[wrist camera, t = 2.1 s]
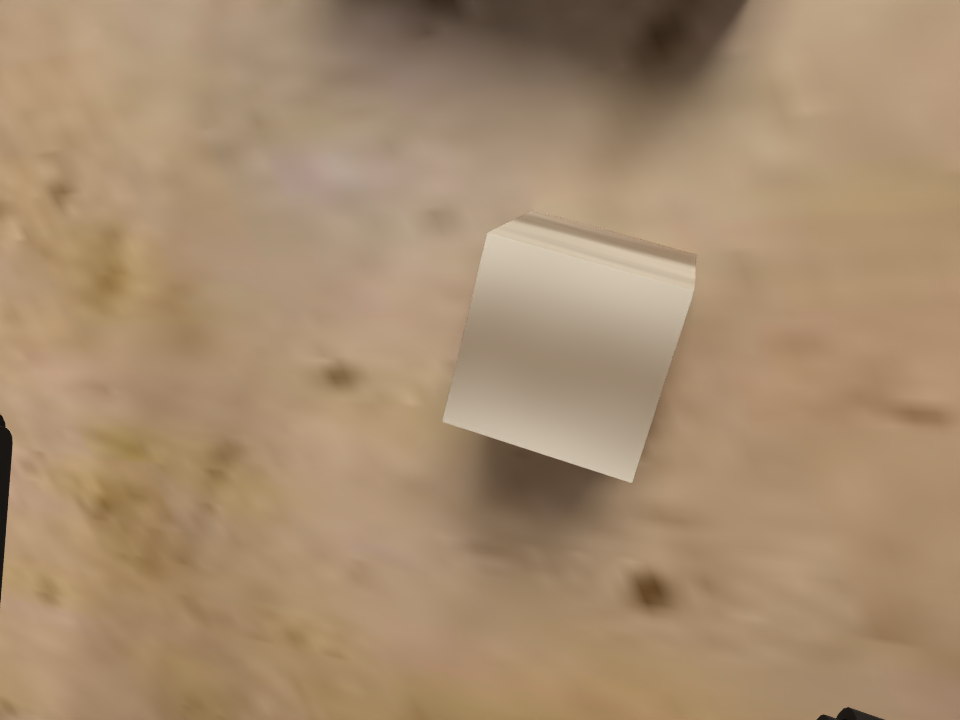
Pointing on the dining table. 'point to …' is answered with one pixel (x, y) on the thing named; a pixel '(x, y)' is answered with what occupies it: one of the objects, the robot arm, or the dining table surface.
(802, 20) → the dining table surface
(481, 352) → the maple cube
